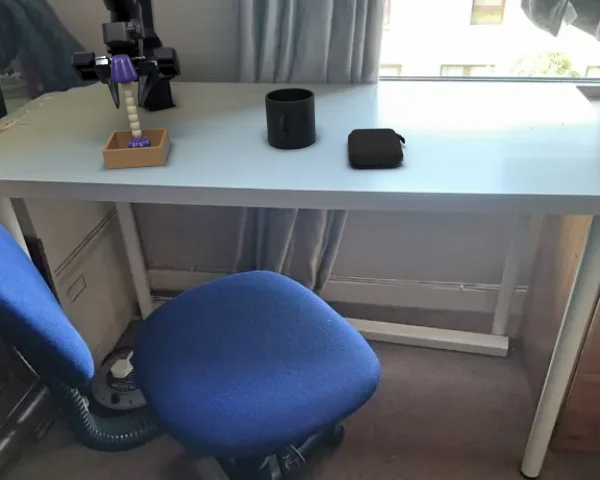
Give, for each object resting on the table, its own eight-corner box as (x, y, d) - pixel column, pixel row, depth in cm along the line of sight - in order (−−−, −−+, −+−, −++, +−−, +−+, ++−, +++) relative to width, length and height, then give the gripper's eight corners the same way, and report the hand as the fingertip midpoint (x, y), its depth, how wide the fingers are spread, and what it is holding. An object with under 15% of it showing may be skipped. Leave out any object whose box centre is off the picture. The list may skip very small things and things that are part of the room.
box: (116, 148, 124) (112, 131, 122) (170, 144, 124) (168, 127, 122) (106, 169, 115) (102, 151, 113) (165, 165, 115) (161, 147, 113)
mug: (258, 153, 119) (254, 105, 113) (275, 131, 128) (272, 87, 123) (306, 155, 117) (304, 107, 111) (320, 133, 126) (319, 88, 121)
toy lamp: (145, 152, 117) (127, 59, 107) (121, 151, 117) (102, 59, 108) (154, 142, 120) (138, 52, 111) (131, 142, 121) (113, 52, 112)
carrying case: (409, 170, 109) (402, 140, 121) (410, 153, 107) (403, 125, 119) (348, 171, 110) (347, 141, 122) (348, 154, 108) (347, 126, 120)
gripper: (59, 3, 108) (60, 87, 105) (168, -2, 108) (172, 80, 105) (80, 41, 118) (82, 118, 116) (179, 36, 119) (183, 112, 116)
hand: (128, 107), depth 113 cm, fingers closed on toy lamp, 4 cm apart
